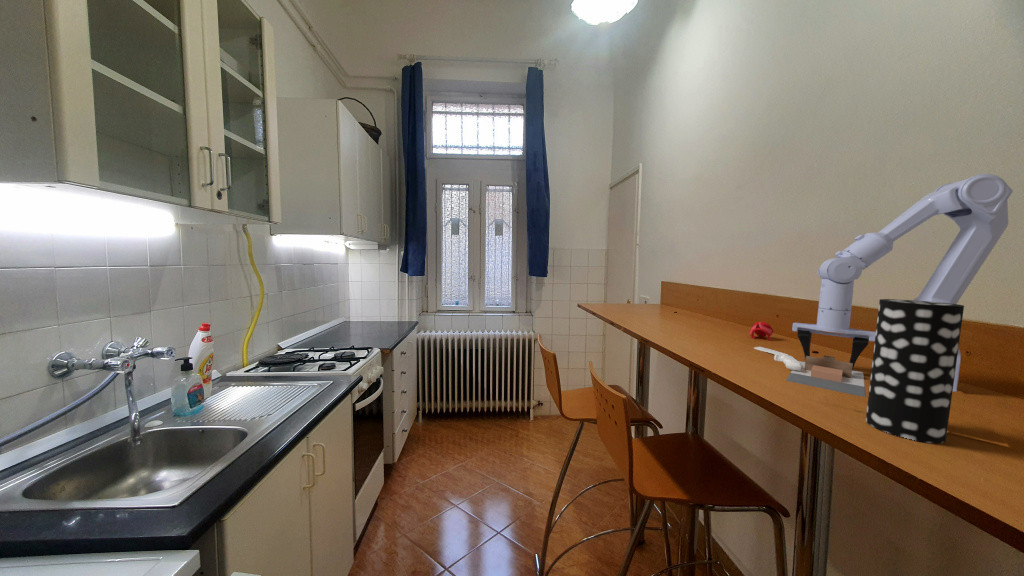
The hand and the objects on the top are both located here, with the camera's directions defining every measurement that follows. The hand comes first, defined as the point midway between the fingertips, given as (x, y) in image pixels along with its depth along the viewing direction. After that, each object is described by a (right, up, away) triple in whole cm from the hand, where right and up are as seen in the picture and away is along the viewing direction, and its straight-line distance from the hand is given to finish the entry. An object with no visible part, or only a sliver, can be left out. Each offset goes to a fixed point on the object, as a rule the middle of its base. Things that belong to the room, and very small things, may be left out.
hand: (828, 365), depth 83 cm
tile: (-5, -1, -5) cm, 8 cm away
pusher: (-1, -1, -1) cm, 2 cm away
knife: (-5, 0, +12) cm, 13 cm away
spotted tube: (-15, -4, -29) cm, 33 cm away
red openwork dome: (+10, +1, +36) cm, 37 cm away
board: (-5, -2, -5) cm, 7 cm away
